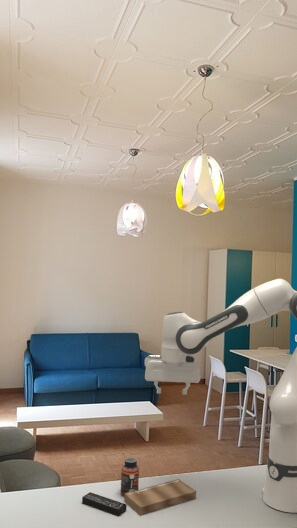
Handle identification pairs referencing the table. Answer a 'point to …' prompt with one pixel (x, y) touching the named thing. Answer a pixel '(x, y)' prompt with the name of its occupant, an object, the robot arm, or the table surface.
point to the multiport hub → (104, 504)
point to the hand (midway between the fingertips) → (171, 393)
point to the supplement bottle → (129, 476)
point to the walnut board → (159, 496)
